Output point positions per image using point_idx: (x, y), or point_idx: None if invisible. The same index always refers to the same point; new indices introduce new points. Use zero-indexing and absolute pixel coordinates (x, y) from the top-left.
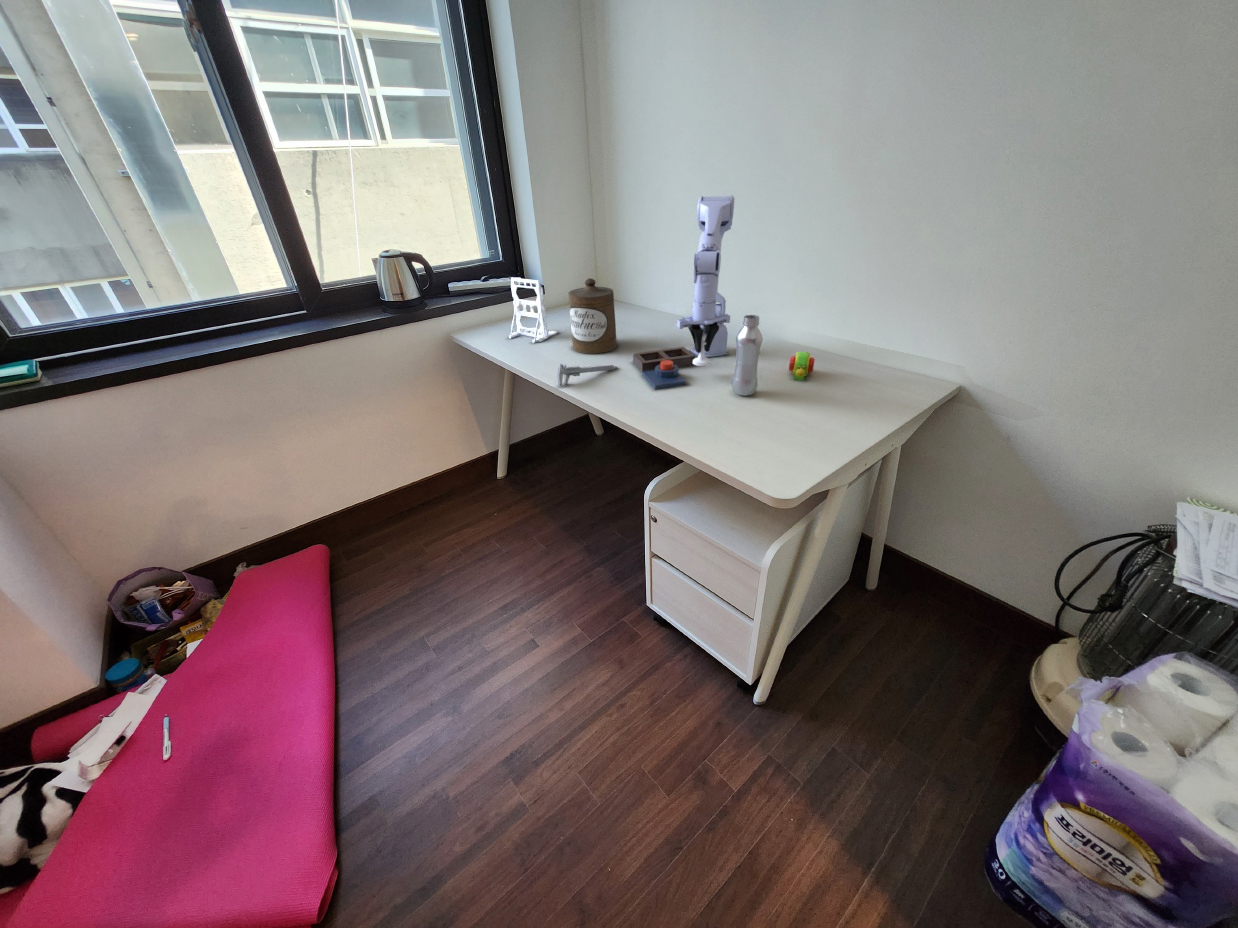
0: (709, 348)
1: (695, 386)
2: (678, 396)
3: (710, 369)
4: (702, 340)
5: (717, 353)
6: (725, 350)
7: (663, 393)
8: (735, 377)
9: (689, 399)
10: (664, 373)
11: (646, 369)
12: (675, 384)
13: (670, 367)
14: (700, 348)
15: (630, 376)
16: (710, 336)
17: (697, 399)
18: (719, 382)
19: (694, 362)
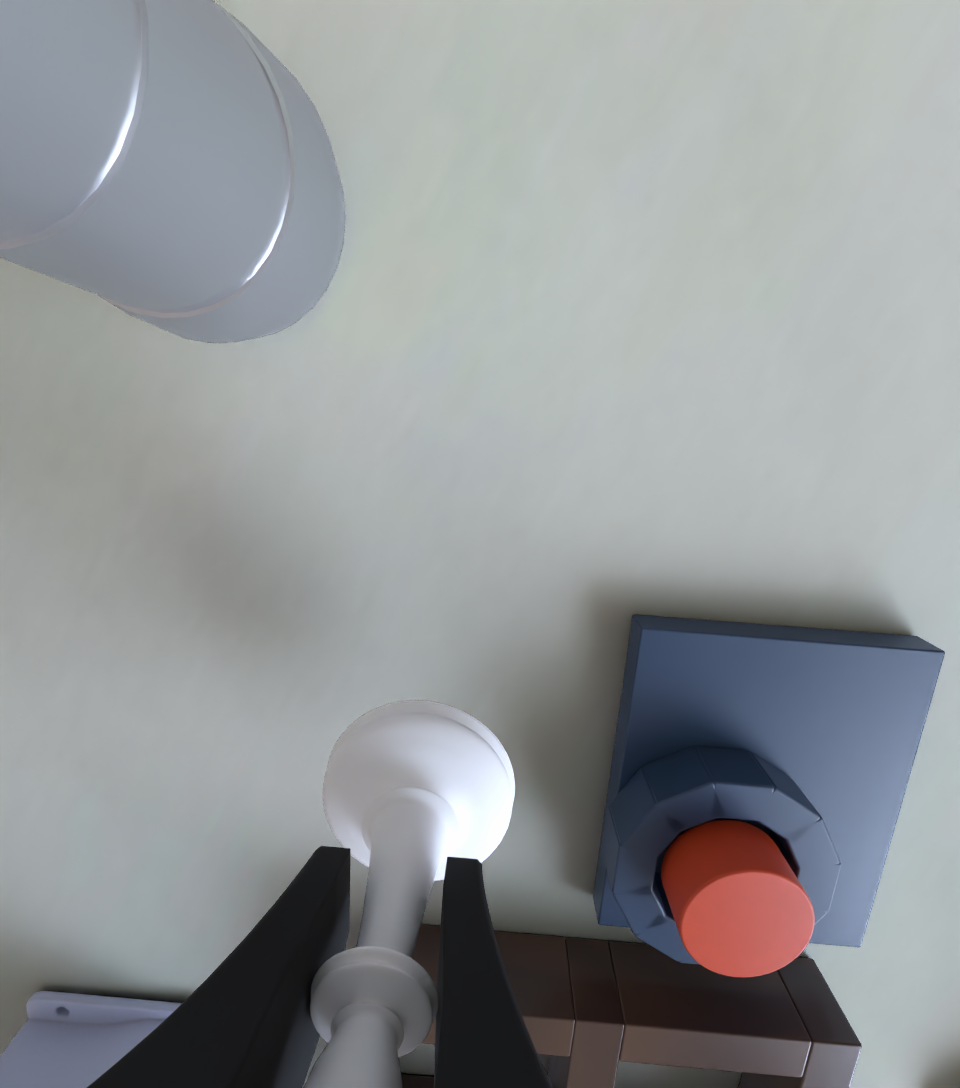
0: (303, 874)
1: (569, 557)
2: (819, 425)
3: (283, 809)
4: (382, 1048)
5: (102, 1026)
6: (20, 1038)
7: (897, 539)
8: (284, 164)
9: (769, 320)
10: (793, 793)
11: (790, 978)
12: (735, 629)
13: (728, 844)
14: (452, 899)
15: (930, 939)
16: (224, 1070)
17: (704, 288)
18: (337, 547)
19: (510, 792)
